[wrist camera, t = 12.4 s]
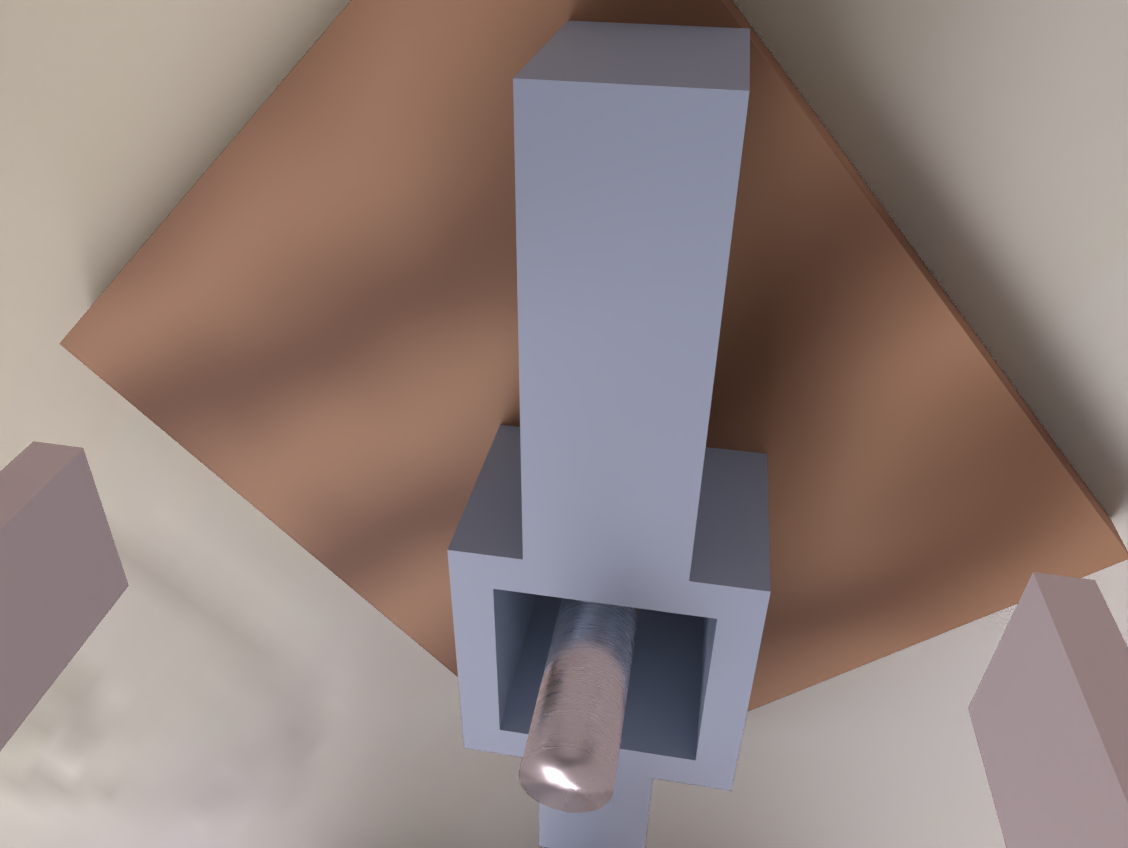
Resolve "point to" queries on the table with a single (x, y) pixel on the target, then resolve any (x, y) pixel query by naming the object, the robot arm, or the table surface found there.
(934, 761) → the table surface
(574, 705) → the pintle
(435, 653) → the board
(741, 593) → the link
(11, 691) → the robot arm
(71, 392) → the table surface
